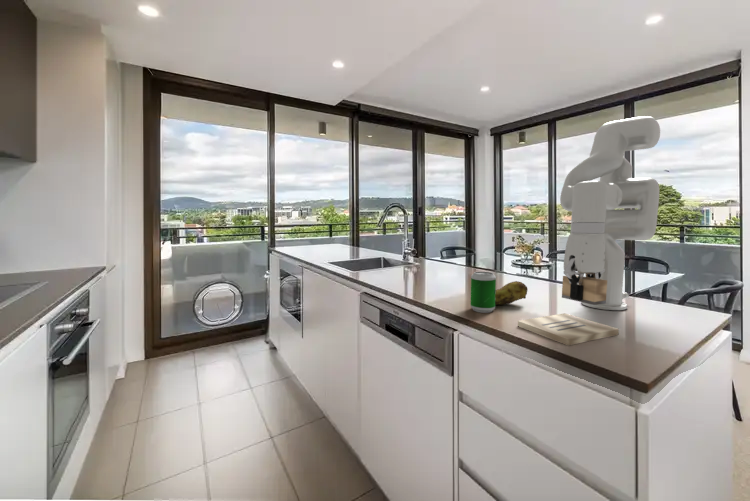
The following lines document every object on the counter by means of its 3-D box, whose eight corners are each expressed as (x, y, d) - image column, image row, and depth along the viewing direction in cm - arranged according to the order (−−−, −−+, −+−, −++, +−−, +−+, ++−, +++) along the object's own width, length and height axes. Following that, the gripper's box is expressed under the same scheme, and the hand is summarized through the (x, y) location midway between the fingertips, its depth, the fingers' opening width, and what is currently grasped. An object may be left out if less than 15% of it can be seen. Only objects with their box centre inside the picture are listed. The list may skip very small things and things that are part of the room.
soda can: (496, 314, 103) (497, 275, 102) (471, 312, 104) (472, 274, 103) (493, 307, 110) (494, 271, 109) (469, 306, 112) (470, 270, 110)
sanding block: (573, 296, 94) (574, 275, 93) (605, 303, 86) (607, 280, 85) (561, 297, 92) (562, 275, 92) (593, 305, 84) (595, 281, 83)
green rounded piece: (485, 300, 119) (486, 278, 118) (524, 302, 116) (525, 279, 115) (487, 306, 111) (488, 283, 110) (529, 309, 108) (530, 284, 107)
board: (564, 318, 98) (564, 313, 98) (618, 334, 84) (618, 328, 84) (517, 326, 91) (518, 320, 91) (568, 345, 78) (568, 339, 77)
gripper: (594, 229, 94) (590, 293, 96) (551, 229, 88) (547, 298, 89) (623, 230, 87) (618, 299, 89) (578, 229, 81) (573, 304, 82)
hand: (583, 297), depth 89 cm, fingers closed on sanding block, 4 cm apart
